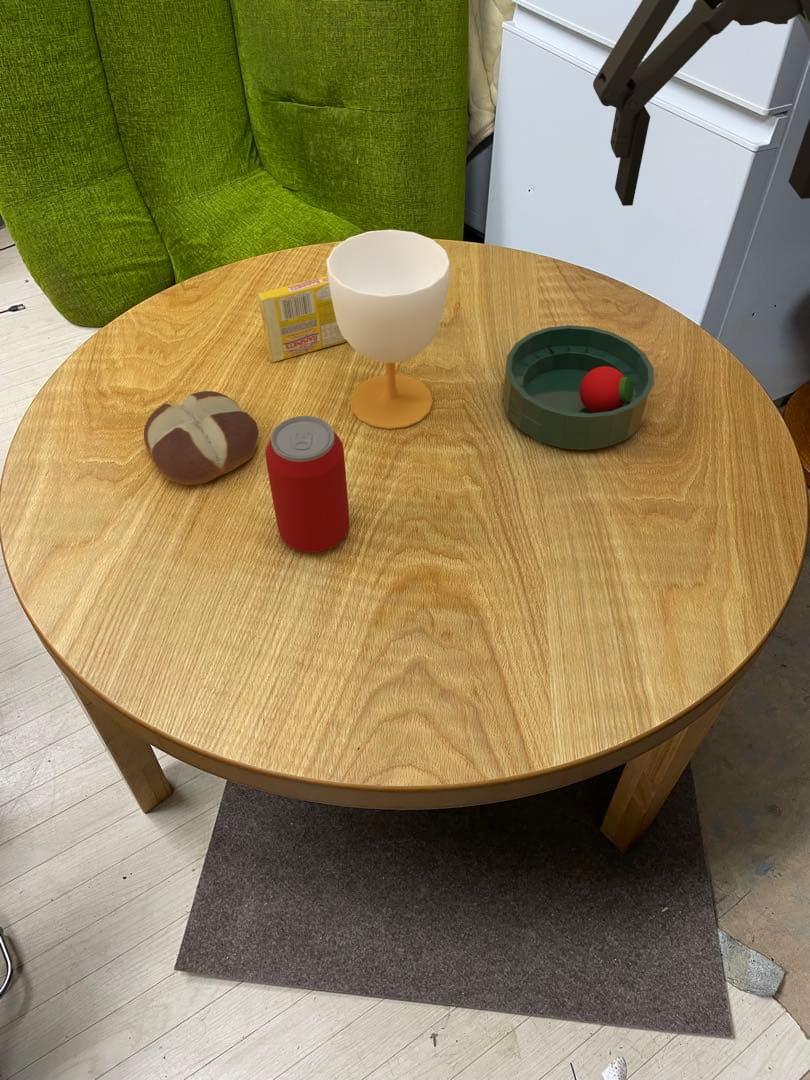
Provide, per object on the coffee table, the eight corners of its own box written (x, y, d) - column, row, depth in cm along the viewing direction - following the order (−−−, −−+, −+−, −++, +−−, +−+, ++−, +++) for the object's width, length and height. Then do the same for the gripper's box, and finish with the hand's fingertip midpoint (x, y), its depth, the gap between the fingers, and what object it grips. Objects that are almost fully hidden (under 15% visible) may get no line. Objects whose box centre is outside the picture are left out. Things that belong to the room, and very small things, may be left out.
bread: (167, 500, 85) (156, 464, 81) (138, 430, 92) (127, 393, 88) (274, 466, 88) (268, 429, 84) (239, 400, 95) (232, 363, 91)
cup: (422, 359, 99) (424, 220, 87) (461, 422, 92) (469, 281, 79) (324, 381, 97) (310, 242, 84) (356, 449, 90) (347, 307, 77)
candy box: (394, 318, 105) (392, 256, 98) (401, 328, 103) (400, 266, 97) (266, 353, 100) (256, 291, 94) (272, 363, 99) (262, 301, 93)
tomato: (594, 397, 95) (640, 395, 92) (579, 425, 92) (626, 423, 89) (583, 358, 92) (631, 355, 89) (567, 385, 89) (616, 382, 86)
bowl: (660, 384, 96) (670, 347, 92) (619, 471, 87) (629, 434, 83) (532, 348, 101) (536, 311, 97) (480, 427, 92) (483, 390, 88)
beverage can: (351, 504, 84) (344, 409, 75) (348, 558, 80) (340, 464, 71) (282, 505, 84) (266, 410, 75) (275, 558, 80) (258, 464, 71)
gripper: (984, -178, 53) (852, 164, 69) (580, -168, 52) (541, 176, 68) (1052, -150, 48) (893, 211, 64) (607, -139, 47) (558, 225, 63)
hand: (711, 194), depth 66 cm, fingers open, 13 cm apart
